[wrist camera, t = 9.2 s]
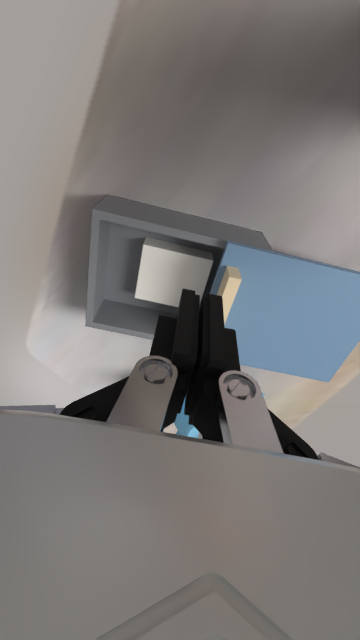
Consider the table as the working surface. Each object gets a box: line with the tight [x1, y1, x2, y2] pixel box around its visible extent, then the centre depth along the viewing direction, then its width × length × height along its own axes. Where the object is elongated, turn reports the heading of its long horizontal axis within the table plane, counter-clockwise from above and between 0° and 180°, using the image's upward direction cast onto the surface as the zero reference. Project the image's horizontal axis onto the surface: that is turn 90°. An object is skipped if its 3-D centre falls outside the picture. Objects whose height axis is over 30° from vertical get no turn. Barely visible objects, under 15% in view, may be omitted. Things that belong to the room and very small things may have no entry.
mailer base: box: [85, 195, 272, 340], centre depth 35 cm, size 18×14×6 cm
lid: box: [210, 240, 360, 382], centre depth 33 cm, size 18×14×3 cm
